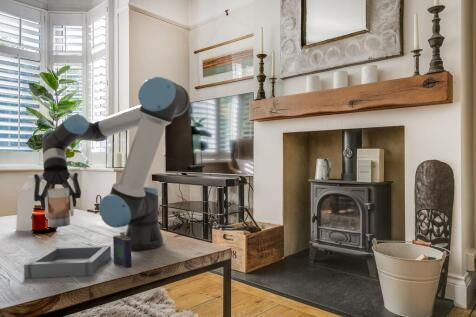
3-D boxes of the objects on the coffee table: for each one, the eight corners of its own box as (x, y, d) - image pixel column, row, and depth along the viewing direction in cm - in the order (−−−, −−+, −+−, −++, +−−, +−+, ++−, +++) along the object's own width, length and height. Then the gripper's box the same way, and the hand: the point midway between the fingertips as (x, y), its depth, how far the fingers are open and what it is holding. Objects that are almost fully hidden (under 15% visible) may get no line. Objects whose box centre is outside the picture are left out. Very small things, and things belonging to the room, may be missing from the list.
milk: (54, 226, 173) (54, 175, 173) (39, 231, 161) (38, 176, 161) (32, 225, 174) (32, 175, 174) (16, 230, 162) (15, 177, 162)
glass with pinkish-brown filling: (70, 222, 115) (69, 187, 115) (70, 225, 109) (69, 189, 109) (48, 224, 112) (47, 188, 112) (47, 228, 107) (46, 190, 107)
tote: (110, 256, 118) (110, 245, 118) (92, 275, 99) (92, 262, 99) (54, 258, 116) (54, 247, 116) (24, 278, 97) (24, 264, 97)
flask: (111, 262, 111) (111, 230, 111) (120, 260, 113) (120, 229, 113) (126, 269, 105) (126, 234, 105) (134, 266, 107) (134, 233, 107)
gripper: (83, 170, 129) (91, 218, 115) (23, 172, 119) (24, 225, 105) (85, 156, 125) (93, 204, 111) (23, 156, 114) (23, 210, 100)
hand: (59, 214), depth 108 cm, fingers closed on glass with pinkish-brown filling, 6 cm apart
